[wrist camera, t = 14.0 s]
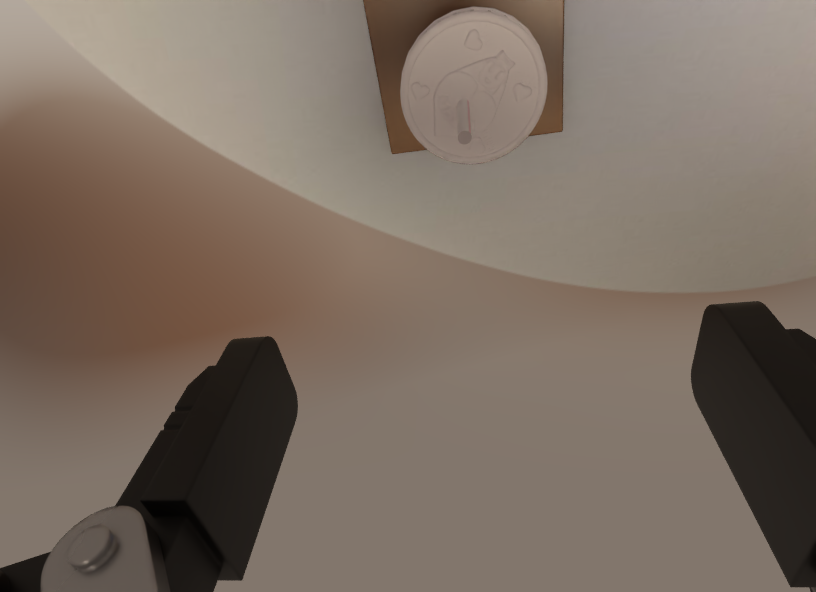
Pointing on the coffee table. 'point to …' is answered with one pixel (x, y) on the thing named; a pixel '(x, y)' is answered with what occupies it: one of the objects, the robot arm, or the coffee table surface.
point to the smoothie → (473, 85)
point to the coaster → (424, 3)
